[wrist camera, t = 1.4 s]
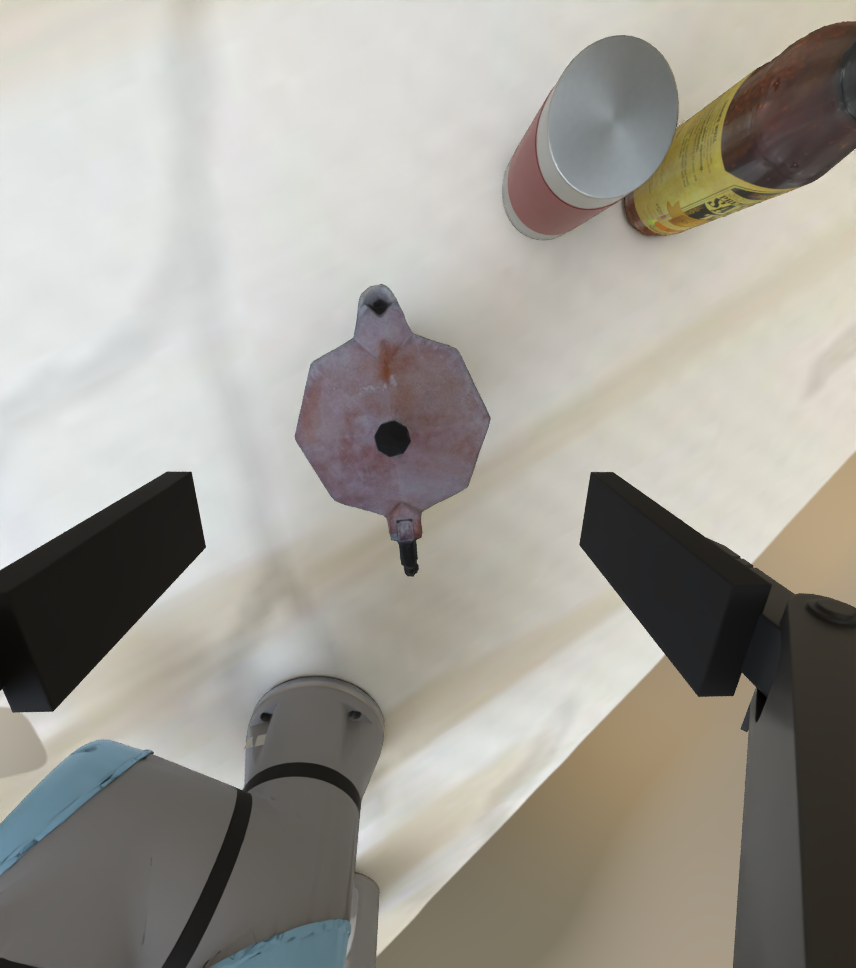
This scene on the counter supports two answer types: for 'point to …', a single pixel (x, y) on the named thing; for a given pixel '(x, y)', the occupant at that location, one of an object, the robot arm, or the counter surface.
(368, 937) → the coffee mug
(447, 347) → the moka pot
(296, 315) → the counter surface
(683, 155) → the sauce bottle
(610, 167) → the tin can
